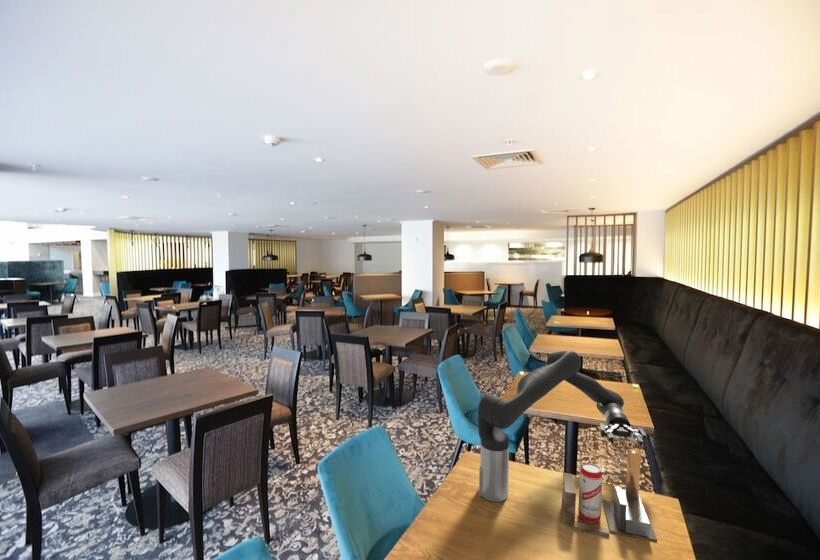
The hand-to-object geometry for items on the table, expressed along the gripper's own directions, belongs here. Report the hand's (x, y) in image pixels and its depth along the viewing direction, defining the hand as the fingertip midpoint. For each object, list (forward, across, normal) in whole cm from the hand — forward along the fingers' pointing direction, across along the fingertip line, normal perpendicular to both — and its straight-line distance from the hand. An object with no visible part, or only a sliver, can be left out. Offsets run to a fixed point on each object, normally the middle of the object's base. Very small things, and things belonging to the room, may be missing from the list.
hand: (626, 442), depth 135 cm
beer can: (+20, -13, +16) cm, 29 cm away
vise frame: (+18, -8, +16) cm, 26 cm away
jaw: (+17, -2, +15) cm, 23 cm away
